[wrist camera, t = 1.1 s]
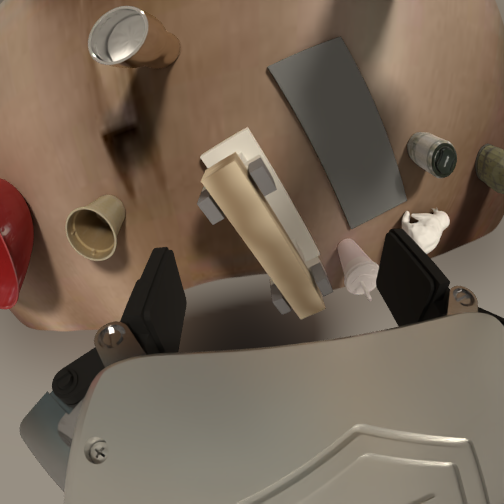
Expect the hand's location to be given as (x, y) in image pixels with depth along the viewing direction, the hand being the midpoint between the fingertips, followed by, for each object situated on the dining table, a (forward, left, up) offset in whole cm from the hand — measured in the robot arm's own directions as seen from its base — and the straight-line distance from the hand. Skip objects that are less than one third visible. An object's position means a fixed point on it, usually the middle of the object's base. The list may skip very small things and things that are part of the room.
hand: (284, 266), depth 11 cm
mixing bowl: (+50, -19, -31) cm, 62 cm away
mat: (-13, +7, -31) cm, 34 cm away
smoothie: (-5, +26, -31) cm, 41 cm away
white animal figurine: (-21, +28, -31) cm, 47 cm away
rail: (+4, +11, -21) cm, 24 cm away
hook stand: (+4, +11, -31) cm, 33 cm away
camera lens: (-25, +14, -31) cm, 42 cm away
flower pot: (+27, -3, -31) cm, 42 cm away
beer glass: (+4, -19, -31) cm, 37 cm away
